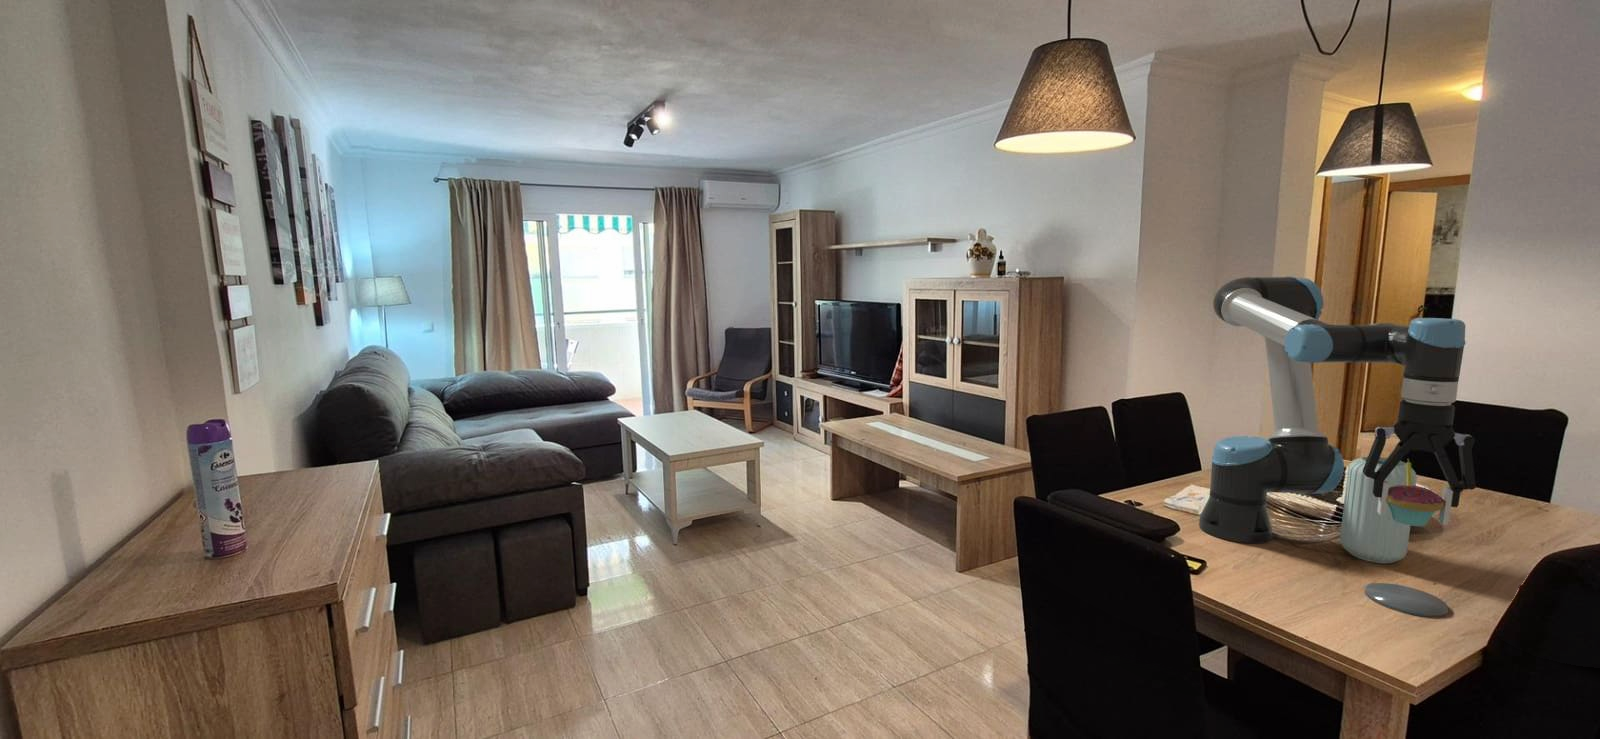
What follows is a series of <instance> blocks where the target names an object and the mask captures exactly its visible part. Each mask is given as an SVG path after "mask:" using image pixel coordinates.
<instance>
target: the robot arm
mask: <svg viewBox="0 0 1600 739" xmlns="http://www.w3.org/2000/svg"><path fill="white" fill-rule="evenodd" d="M1212 305H1213V311H1214V312H1215V314H1216V315H1217V317H1218V318H1219V319H1221V321H1223V322H1225V323H1226V324H1229V325H1231V326H1234V327H1245V328H1248V330H1249V329H1250V330H1251V331H1253V332H1255V333H1256V334H1258V335H1260V336H1262V337H1263V338H1264V341H1265V352H1266V360H1267V366H1268V367H1267V368H1268V378H1269V388H1270V398H1271V404H1272V415H1273V424H1274V432H1273V433H1272V434H1271V435H1269V437H1268V439H1266V438H1263V437H1258V436H1247V435H1246V436H1245V435H1243V436H1241V435H1237V436H1230V437H1225V438H1222V439H1220V440H1218V441H1217V442H1216V443H1215V444H1214V447H1213V451H1212V456H1211V461H1212V462H1211V472H1210V486H1209V497H1208V499H1207V501H1206V502H1205V505H1204V507H1203V509H1202V511H1201V513H1200V516H1199V519H1198V520H1199V521H1198V527H1199V529H1201V531H1203V532H1205V533H1206V534H1209V535H1210V536H1213V537H1216V538H1219V539H1223V540H1228V541H1233V542H1235V543H1236V542H1238V543H1246V544H1261V543H1267V542H1269V541H1271V540H1272V535H1273V527H1272V522H1271V520H1270V517H1269V513H1268V510H1267V497H1268V496H1267V495H1268V493H1274V494H1275V493H1279V494H1280V493H1281V494H1304V495H1312V494H1326V493H1330V492H1331V491H1333V490H1335V488H1337V486H1339V485H1338V484H1340V483H1341V481H1342V478H1343V475H1344V469H1345V463H1344V457H1343V454H1342V453H1340V450H1339V448H1337V447H1336V446H1333V445H1331V444H1329V438H1328V436H1327V435H1326V434H1324V433H1323V432H1321V431H1320V429H1319V424H1318V414H1317V405H1316V399H1315V396H1316V395H1315V389H1314V381H1313V372H1312V364H1318V363H1377V364H1379V363H1381V364H1383V363H1387V364H1388V363H1389V364H1394V365H1402V366H1404V370H1403V375H1402V376H1403V378H1402V383H1401V384H1402V385H1401V392H1400V397H1401V398H1403V399H1402V400H1401V401H1399V407H1398V414H1397V422H1396V423H1395V424H1394V425H1393V426H1391V427H1390V426H1389V427H1383V426H1380V425H1377V426H1375V427H1374V440H1373V442H1372V446H1371V448H1370V451H1369V452H1368V455H1367V456H1368V458H1367V461H1366V463H1365V466H1364V468H1363V473H1364V474H1365V476H1366V477H1370V478H1372V479H1374V485H1373V495H1374V496H1375V497H1379V500H1378V508H1377V512H1378V513H1379V515H1381V516H1385V512H1386V505H1387V501H1386V499H1387V497H1388V489H1389V483H1388V481H1387V480H1385V479H1386V478H1387V477H1388V475H1389V474H1390V473H1391V472H1392V470H1393V469H1394V468H1395V467H1396V465H1397V464H1398V463H1399V462H1400V461H1402V459H1403V458H1404V456H1406V455H1407V454H1409V452H1410V451H1425V452H1428V453H1433V454H1434V455H1435V457H1436V460H1437V461H1438V464H1439V466H1440V469H1441V470H1442V473H1443V475H1444V478H1445V480H1447V483H1448V486H1442V493H1441V498H1442V499H1443V500H1444V503H1445V505H1444V509H1443V510H1439V515H1438V516H1439V517H1438V520H1439V522H1440V523H1441V524H1442V525H1445V526H1449V522H1450V515H1451V509H1452V508H1458V507H1459V505H1460V498H1461V493H1462V492H1463V491H1464V490H1475V489H1476V488H1477V484H1476V477H1475V469H1474V468H1475V467H1474V461H1473V460H1474V459H1473V453H1472V452H1473V451H1472V450H1473V447H1474V444H1475V441H1476V439H1475V438H1474V437H1473V436H1472V435H1470V434H1468V433H1464V434H1462V433H1458V432H1455V431H1454V429H1453V425H1454V417H1455V411H1456V407H1455V406H1454V405H1453V403H1455V402H1457V396H1458V387H1459V380H1460V375H1461V366H1462V362H1463V361H1462V360H1463V355H1464V351H1465V350H1464V348H1465V346H1466V343H1467V342H1466V324H1465V322H1464V321H1462V320H1460V319H1457V318H1443V317H1442V318H1441V317H1440V318H1439V317H1438V318H1437V317H1417V318H1413V319H1412V320H1411V321H1410V324H1409V326H1406V325H1399V324H1394V323H1389V322H1387V323H1383V322H1382V323H1380V322H1379V323H1377V322H1376V323H1371V324H1330V323H1326V322H1324V321H1321V320H1319V319H1320V318H1321V316H1322V314H1323V312H1322V310H1323V309H1324V297H1323V293H1322V291H1321V289H1320V287H1319V286H1318V284H1317V283H1315V282H1314V281H1313V280H1311V279H1309V278H1307V277H1300V276H1299V277H1296V276H1283V277H1282V276H1280V277H1279V276H1277V277H1276V276H1272V277H1269V276H1267V277H1263V276H1262V277H1251V276H1250V277H1247V276H1246V277H1240V278H1236V279H1232V280H1229V281H1228V282H1227V283H1225V284H1223V285H1222V286H1221V287H1220V288H1219V289H1218V290H1217V291H1216V293H1215V295H1214V298H1213V303H1212ZM1393 434H1395V436H1396V437H1397V438H1398V440H1399V441H1398V443H1397V444H1396V445H1395V447H1394V449H1393V450H1392V452H1391V453H1390V454H1389V455H1388V456H1387V457H1386V458H1387V459H1386V460H1385V462H1384V463H1383V464H1382V465H1381V467H1380V468H1379V469H1378V470H1377V472H1375V469H1376V466H1377V463H1378V461H1379V458H1380V457H1382V456H1381V455H1382V454H1383V450H1384V448H1385V445H1386V441H1387V440H1389V439H1390V438H1391V436H1392V435H1393ZM1452 440H1454V442H1455V444H1456V445H1457V446H1458V455H1459V463H1460V472H1461V478H1462V479H1461V481H1459V479H1458V476H1457V474H1456V472H1455V471H1454V468H1453V466H1452V464H1451V462H1450V459H1449V457H1448V454H1447V452H1446V450H1445V447H1444V446H1446V445H1448V443H1450V442H1451V441H1452Z"/></svg>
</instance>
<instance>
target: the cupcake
mask: <svg viewBox="0 0 1600 739" xmlns="http://www.w3.org/2000/svg"><path fill="white" fill-rule="evenodd" d="M1406 465H1407V484H1402V485H1397V486H1394V487H1393V486H1392V487H1389V489H1388V497H1387V499H1386V501H1387V503H1388V505H1389V508H1390V510H1391V513H1392V518H1393V520H1395V521H1397V522H1399V523H1402V524H1406V525H1411V526H1413V527H1425V526H1426V525H1427V524H1428V522H1429V521H1430V519H1431V518H1432V516H1433V515H1434V514H1435V513H1436V512H1438V511H1440V510H1443V509H1444V505H1445V503H1444V500H1443V499H1442V496H1440V495H1439V494H1438V493H1436V492H1434V491H1433V490H1432V489H1429V488H1426V487H1421V486H1418V485H1416V486H1413V485H1412V479H1411V468H1412V462H1410V459H1409V458H1407V462H1406ZM1411 526H1410V527H1411Z"/></svg>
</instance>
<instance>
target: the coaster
mask: <svg viewBox="0 0 1600 739" xmlns="http://www.w3.org/2000/svg"><path fill="white" fill-rule="evenodd" d="M1364 593H1365V595H1366V596H1367V598H1369V599H1370V600H1372V601H1373V602H1375V603H1377V604H1378V605H1381V606H1383V607H1385V608H1389V609H1391V610H1393V611H1396V612H1397V611H1398V612H1400V613H1404V614H1409V615H1413V616H1418V617H1419V616H1420V617H1427V618H1428V617H1429V618H1439V617H1444V616H1446V615H1447V614H1448V611H1449V606H1448V604H1447V602H1445V601H1443V600H1442V599H1441V598H1438V596H1436V595H1433V594H1431V593H1428V592H1426V591H1423V590H1420V589H1417V588H1413V587H1410V586H1405V585H1401V584H1396V583H1387V582H1386V583H1385V582H1373V583H1369V584H1367V585H1366V586H1365V588H1364Z"/></svg>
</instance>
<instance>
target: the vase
mask: <svg viewBox="0 0 1600 739" xmlns="http://www.w3.org/2000/svg"><path fill="white" fill-rule="evenodd" d="M1367 458H1368V455H1365V456H1361V457H1360V458H1357V459H1355V460H1352V461H1351V462H1350V463H1349V465H1348V468H1347V475H1346V483H1345V493H1344V494H1345V495H1344V501H1343V502H1344V503H1343V509H1342V510H1343V511H1342V519H1341V520H1342V521H1341V526H1340V537H1339V542H1340V544H1341V546H1342V547H1343V549H1345V550H1346V551H1347V552H1348V553H1349V554H1350V555H1352V556H1353V557H1355V558H1358V559H1359V560H1363V561H1366V562H1371V563H1377V564H1393V563H1394V562H1398V561H1400V560H1402V559H1403V558H1405V557H1406V555H1407V553H1408V546H1409V539H1410V533H1411V532H1410V531H1411V525H1406V524H1402V523H1399V522H1397V521H1395V520H1393V518H1392V513H1391V510H1390V508H1389V505H1388V503H1387V505H1386V512H1385V516H1381V515H1379V513H1378V512H1377V508H1378V500H1379V497H1375V496H1374V495H1373V485H1374V479H1372V478H1370V477H1366V476H1365V474H1364V473H1363V468H1364V466H1365V463H1366V461H1367ZM1387 458H1388V457H1385V456H1380V458H1379V461H1378V463H1377V466H1376V469H1375V472H1377V470H1378V469H1379V468H1380V467H1381V465H1382V464H1383V463H1384V462H1385V460H1386V459H1387ZM1411 479H1412V485H1413V486H1417V480H1418V478H1417V473H1416V471H1415V470H1414V469H1413V467H1411ZM1385 480H1387V481H1388V483H1389V487H1392V486H1393V487H1394V486H1397V485H1402V484H1407V462H1404V461H1402V460H1400V462H1399V463H1398V464H1397V465H1396V467H1395V468H1394V469H1393V470H1392V472H1391V473H1390V474H1389V475H1388V477H1387V478H1386V479H1385Z"/></svg>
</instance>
